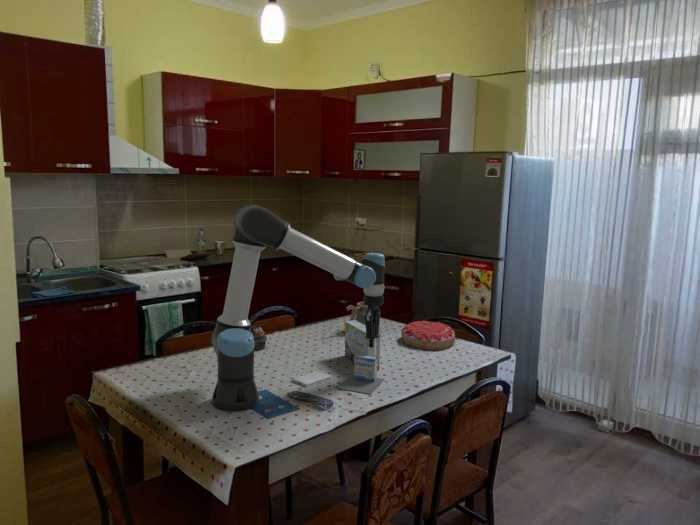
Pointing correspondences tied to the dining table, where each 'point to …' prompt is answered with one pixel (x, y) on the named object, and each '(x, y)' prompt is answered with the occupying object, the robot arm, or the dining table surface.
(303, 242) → the robot arm
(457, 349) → the dining table surface
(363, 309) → the tankard
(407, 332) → the cake
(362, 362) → the medicine box
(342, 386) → the rubber mat
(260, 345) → the cupcake
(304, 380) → the hard drive
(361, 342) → the snack box
